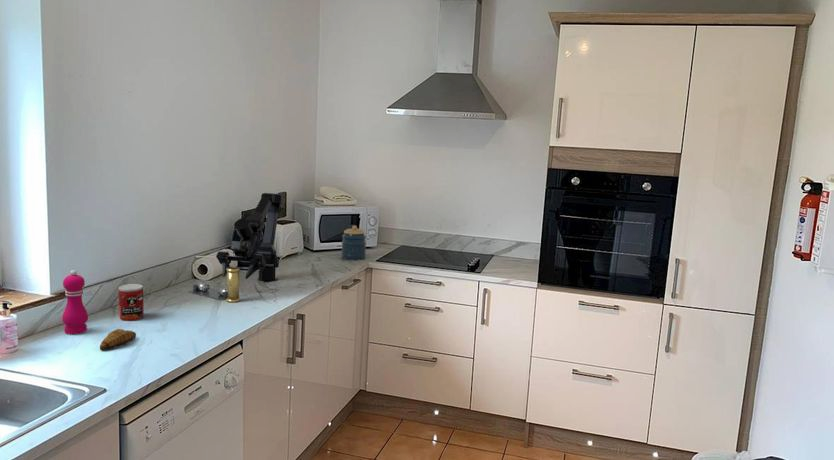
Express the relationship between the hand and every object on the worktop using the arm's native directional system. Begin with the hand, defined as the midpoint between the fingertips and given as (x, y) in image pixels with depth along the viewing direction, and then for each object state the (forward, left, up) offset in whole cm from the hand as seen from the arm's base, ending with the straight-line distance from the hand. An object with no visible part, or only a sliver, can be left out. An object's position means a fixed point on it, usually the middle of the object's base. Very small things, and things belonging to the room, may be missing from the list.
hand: (234, 277), depth 236 cm
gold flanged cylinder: (+1, +1, -9) cm, 9 cm away
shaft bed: (+2, -13, -9) cm, 16 cm away
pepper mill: (+58, 0, -9) cm, 58 cm away
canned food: (+39, -3, -9) cm, 40 cm away
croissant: (+53, +20, -9) cm, 57 cm away
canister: (-92, -32, -9) cm, 98 cm away
